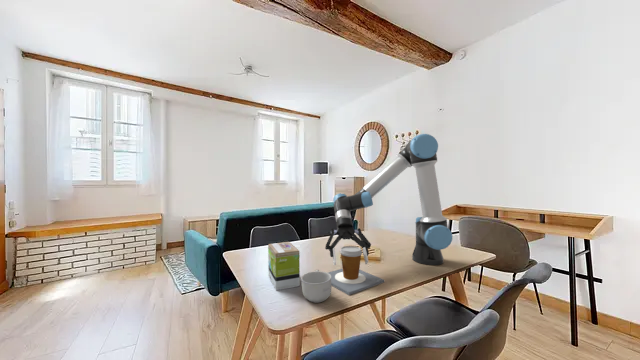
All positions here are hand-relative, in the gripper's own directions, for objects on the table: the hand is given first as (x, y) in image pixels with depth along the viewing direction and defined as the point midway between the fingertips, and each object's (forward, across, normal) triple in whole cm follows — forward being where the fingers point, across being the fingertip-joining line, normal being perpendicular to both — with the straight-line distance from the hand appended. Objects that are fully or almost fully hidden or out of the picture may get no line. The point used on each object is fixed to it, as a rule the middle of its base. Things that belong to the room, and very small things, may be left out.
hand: (351, 263), depth 102 cm
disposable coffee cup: (+3, 0, -6) cm, 7 cm away
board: (+4, 0, -7) cm, 8 cm away
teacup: (+14, +15, +3) cm, 21 cm away
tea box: (+4, +28, -8) cm, 30 cm away
